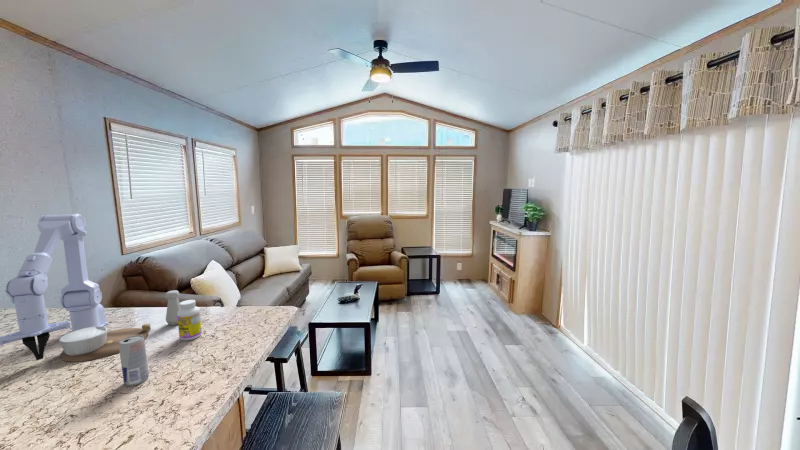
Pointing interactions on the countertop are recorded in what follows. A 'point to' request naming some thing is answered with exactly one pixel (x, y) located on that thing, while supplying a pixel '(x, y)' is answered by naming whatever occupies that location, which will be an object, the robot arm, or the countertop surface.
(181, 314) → the supplement bottle
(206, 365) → the countertop surface
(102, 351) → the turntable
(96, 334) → the ramekin
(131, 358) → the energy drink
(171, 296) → the salt shaker
